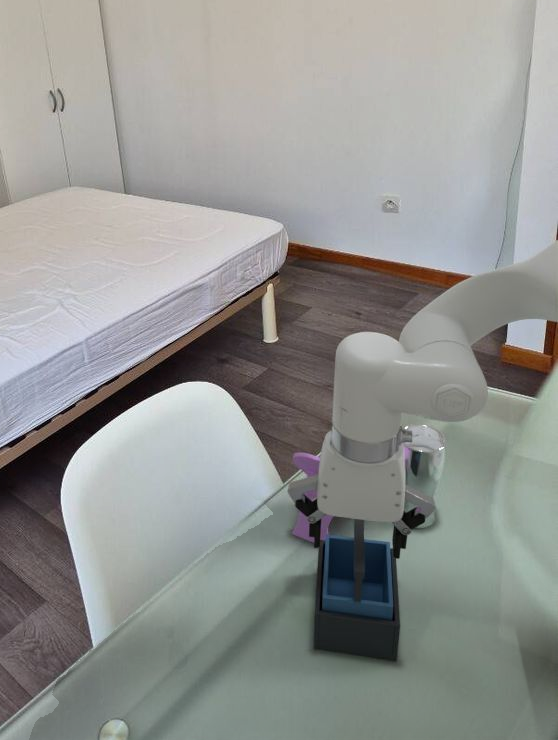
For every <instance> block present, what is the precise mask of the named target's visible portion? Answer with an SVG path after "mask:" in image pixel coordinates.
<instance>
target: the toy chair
mask: <svg viewBox="0 0 558 740" xmlns="http://www.w3.org/2000/svg"><path fill="white" fill-rule="evenodd" d="M319 462H320V456H317V455H314V454H311V453H307V452H301V451H300V452H295V453H293V456H292V463H293V465H294V466H295V467H296V468H298V469H299V470H301V471H302V472H303V473H304V474H305V475H306V476H305V477H304V478H307V477H311V476H314V475H318V472H319ZM303 494H304V495H306V496H307V497H308V498H309V499H310V500H312V499H314V498H315V497H316V496H317V490H314V491H310V492H307V493H303ZM297 512H298V518H297V522H296V525H295V527H294V529H293V530H292V532H291V535H294V536H296V537H298V538H300V539H303V540H306V541H308V542H311V543H313V544H314V537H309V522H308V521H307V517H306V516H305V515H304V514H303V513H302V512H301V511H299V510H298V509H297ZM334 517H335V516H331V515H328V514H327V515H325V516H324V517H323V518H321V535H320V540H323V541H324V540H326V535H329V525H330V524H331V521H332V520H333V518H334Z"/></svg>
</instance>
